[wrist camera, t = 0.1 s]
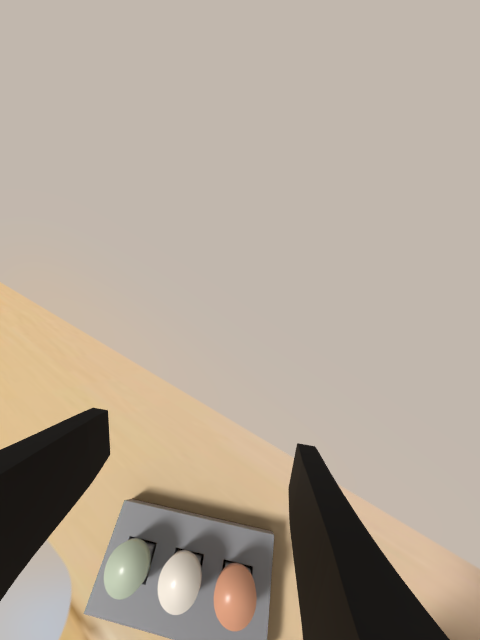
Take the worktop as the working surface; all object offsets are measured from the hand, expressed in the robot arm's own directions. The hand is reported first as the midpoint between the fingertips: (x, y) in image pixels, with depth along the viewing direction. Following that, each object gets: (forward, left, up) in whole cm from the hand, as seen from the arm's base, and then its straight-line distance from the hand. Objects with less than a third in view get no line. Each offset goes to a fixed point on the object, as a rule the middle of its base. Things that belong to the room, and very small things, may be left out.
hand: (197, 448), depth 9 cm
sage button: (-11, +9, -30) cm, 33 cm away
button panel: (-11, +3, -32) cm, 34 cm away
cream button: (-11, +3, -30) cm, 32 cm away
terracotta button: (-11, -3, -30) cm, 32 cm away
